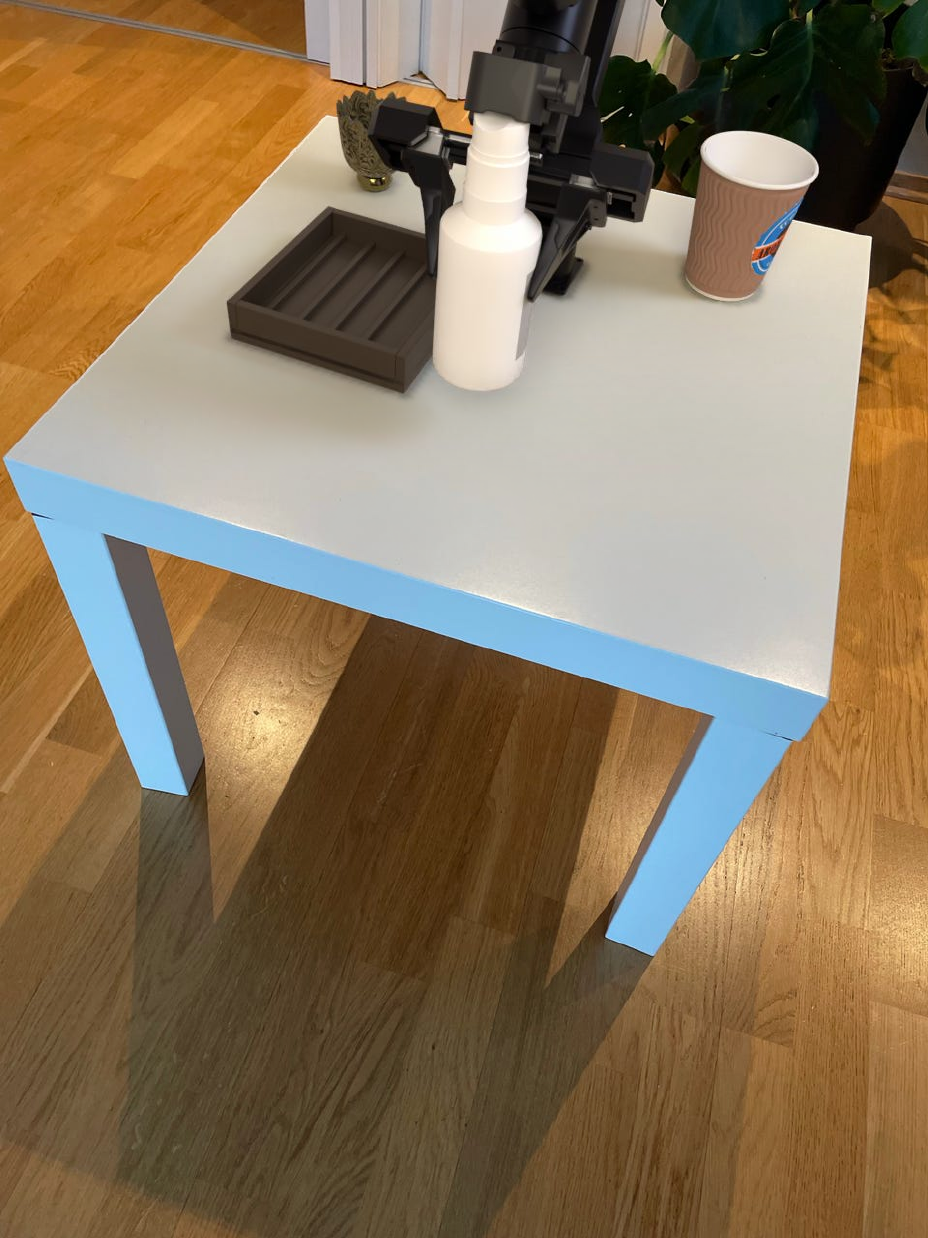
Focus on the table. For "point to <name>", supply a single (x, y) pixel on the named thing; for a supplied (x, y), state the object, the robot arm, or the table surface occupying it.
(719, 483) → the table surface
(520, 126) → the spray bottle
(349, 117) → the cup
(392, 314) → the ribbed square tray
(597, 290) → the table surface
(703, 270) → the coffee cup
